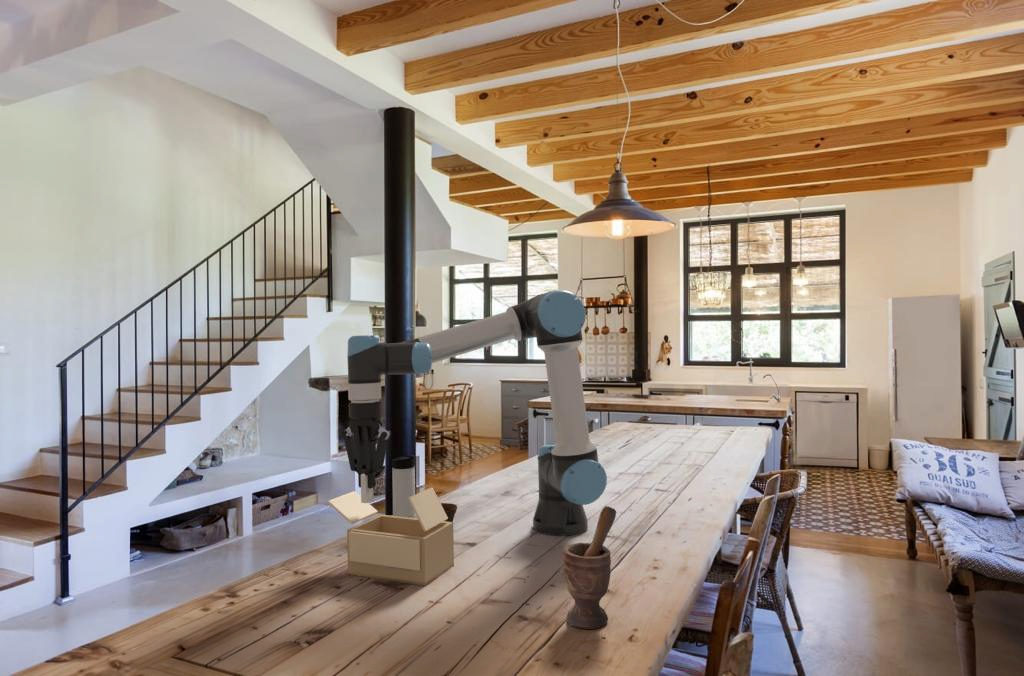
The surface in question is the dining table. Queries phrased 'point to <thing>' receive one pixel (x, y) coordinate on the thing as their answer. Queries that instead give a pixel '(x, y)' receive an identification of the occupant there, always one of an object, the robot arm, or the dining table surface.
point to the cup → (449, 511)
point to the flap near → (428, 508)
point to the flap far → (352, 507)
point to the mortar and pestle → (589, 575)
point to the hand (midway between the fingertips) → (367, 501)
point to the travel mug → (403, 485)
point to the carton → (400, 550)
